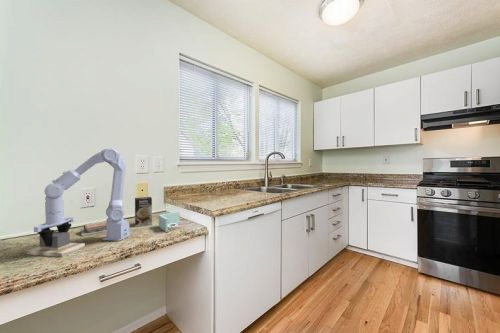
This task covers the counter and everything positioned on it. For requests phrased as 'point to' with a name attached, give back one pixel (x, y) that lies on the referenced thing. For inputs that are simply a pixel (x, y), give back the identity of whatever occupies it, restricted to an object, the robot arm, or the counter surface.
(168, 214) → the pale turquoise carton
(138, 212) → the coffee box
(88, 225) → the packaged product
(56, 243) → the block
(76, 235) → the counter surface
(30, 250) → the pine board
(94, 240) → the counter surface
